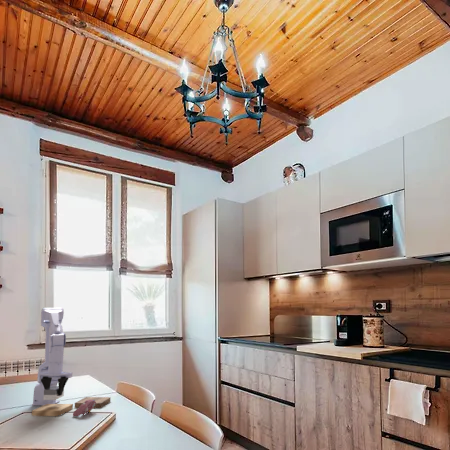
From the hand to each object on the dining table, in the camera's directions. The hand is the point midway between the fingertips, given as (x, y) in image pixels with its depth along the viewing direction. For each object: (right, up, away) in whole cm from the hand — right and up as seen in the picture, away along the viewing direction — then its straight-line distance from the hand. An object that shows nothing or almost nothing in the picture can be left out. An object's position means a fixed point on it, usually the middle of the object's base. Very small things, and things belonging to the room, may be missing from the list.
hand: (53, 395), depth 178 cm
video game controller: (+15, -6, -5) cm, 17 cm away
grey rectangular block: (0, -1, 0) cm, 1 cm away
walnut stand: (+13, -9, +11) cm, 20 cm away
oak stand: (0, -7, -1) cm, 7 cm away
